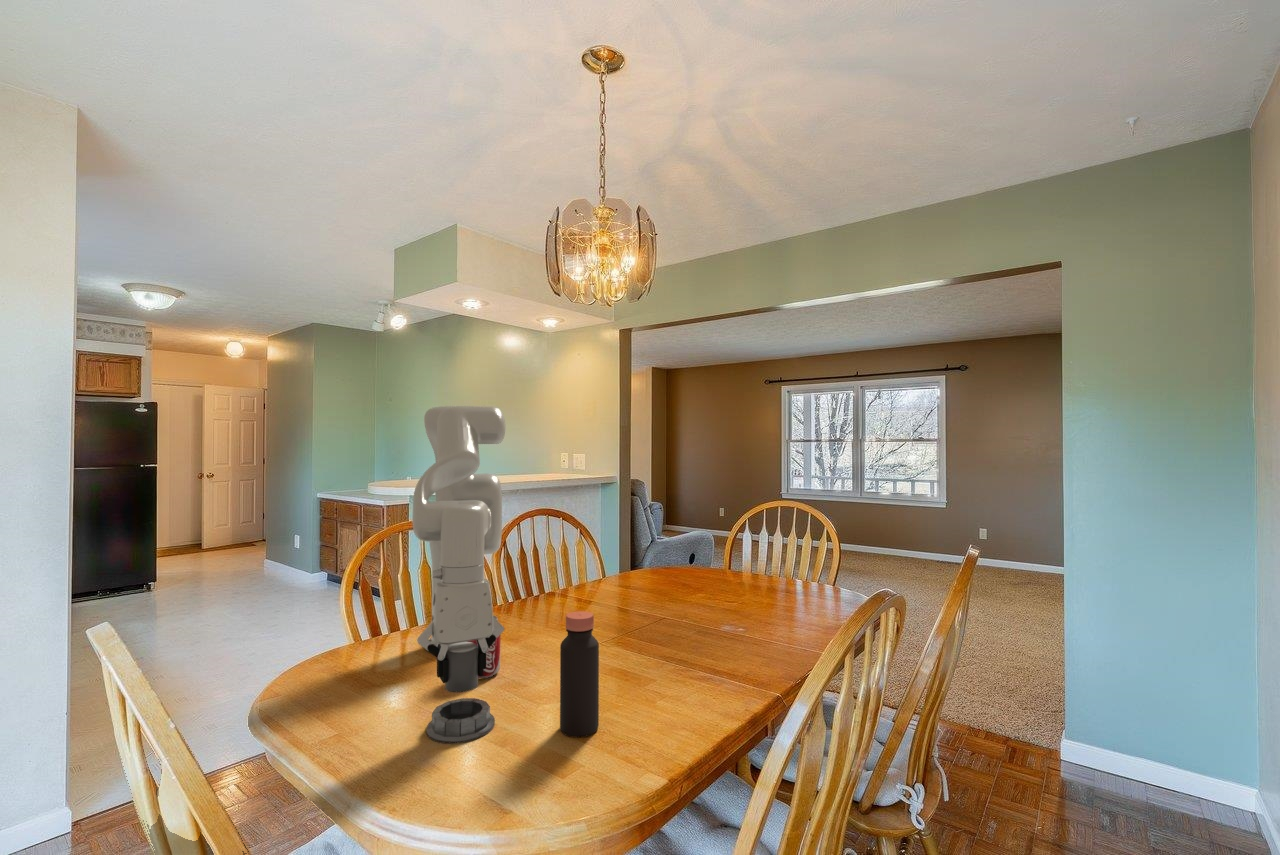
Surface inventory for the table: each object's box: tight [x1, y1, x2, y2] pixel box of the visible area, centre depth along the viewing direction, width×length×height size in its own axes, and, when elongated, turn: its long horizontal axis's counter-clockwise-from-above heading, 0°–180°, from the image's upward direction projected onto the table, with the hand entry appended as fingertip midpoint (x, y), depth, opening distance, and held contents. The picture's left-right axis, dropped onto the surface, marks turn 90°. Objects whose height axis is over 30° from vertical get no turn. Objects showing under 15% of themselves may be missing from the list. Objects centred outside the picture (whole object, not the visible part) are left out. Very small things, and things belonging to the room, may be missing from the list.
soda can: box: [467, 615, 502, 679], centre depth 130 cm, size 7×7×12 cm
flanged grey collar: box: [426, 697, 496, 745], centre depth 106 cm, size 12×12×3 cm
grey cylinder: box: [444, 642, 479, 694], centre depth 106 cm, size 6×6×7 cm
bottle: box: [559, 610, 600, 738], centre depth 106 cm, size 7×7×20 cm
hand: (461, 676), depth 106 cm, fingers closed on grey cylinder, 5 cm apart
